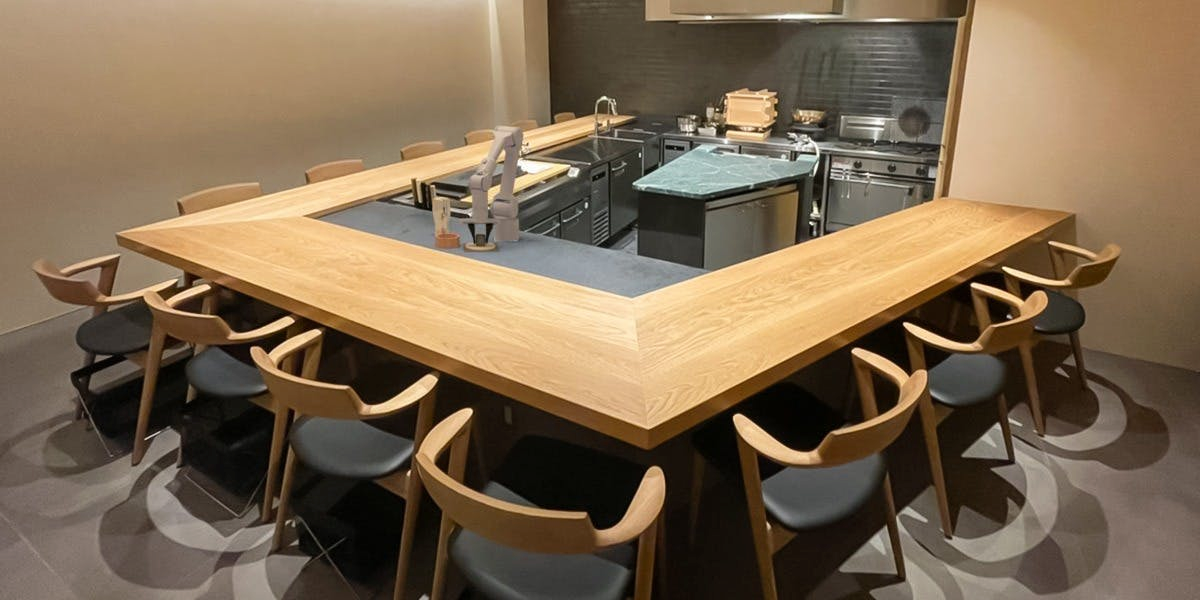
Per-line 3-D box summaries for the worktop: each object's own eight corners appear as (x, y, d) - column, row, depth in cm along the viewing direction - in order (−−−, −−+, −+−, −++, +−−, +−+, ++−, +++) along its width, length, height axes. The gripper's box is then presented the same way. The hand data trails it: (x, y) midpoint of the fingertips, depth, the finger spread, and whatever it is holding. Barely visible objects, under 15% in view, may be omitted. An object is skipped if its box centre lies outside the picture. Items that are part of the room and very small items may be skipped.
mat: (496, 244, 260) (496, 243, 259) (499, 252, 248) (499, 251, 247) (462, 244, 257) (462, 243, 256) (463, 253, 245) (463, 251, 244)
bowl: (459, 243, 258) (459, 233, 257) (460, 248, 250) (459, 238, 249) (436, 243, 256) (435, 233, 255) (435, 249, 248) (435, 238, 247)
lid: (494, 243, 258) (494, 231, 257) (496, 250, 248) (496, 238, 247) (465, 244, 256) (464, 231, 254) (466, 251, 246) (466, 238, 244)
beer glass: (453, 234, 272) (452, 197, 268) (448, 238, 266) (446, 200, 261) (436, 233, 273) (435, 196, 268) (430, 236, 266) (429, 199, 261)
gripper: (460, 209, 242) (461, 246, 246) (500, 209, 245) (500, 245, 249) (459, 205, 248) (460, 241, 253) (499, 205, 252) (499, 241, 256)
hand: (480, 243), depth 251 cm, fingers open, 4 cm apart
